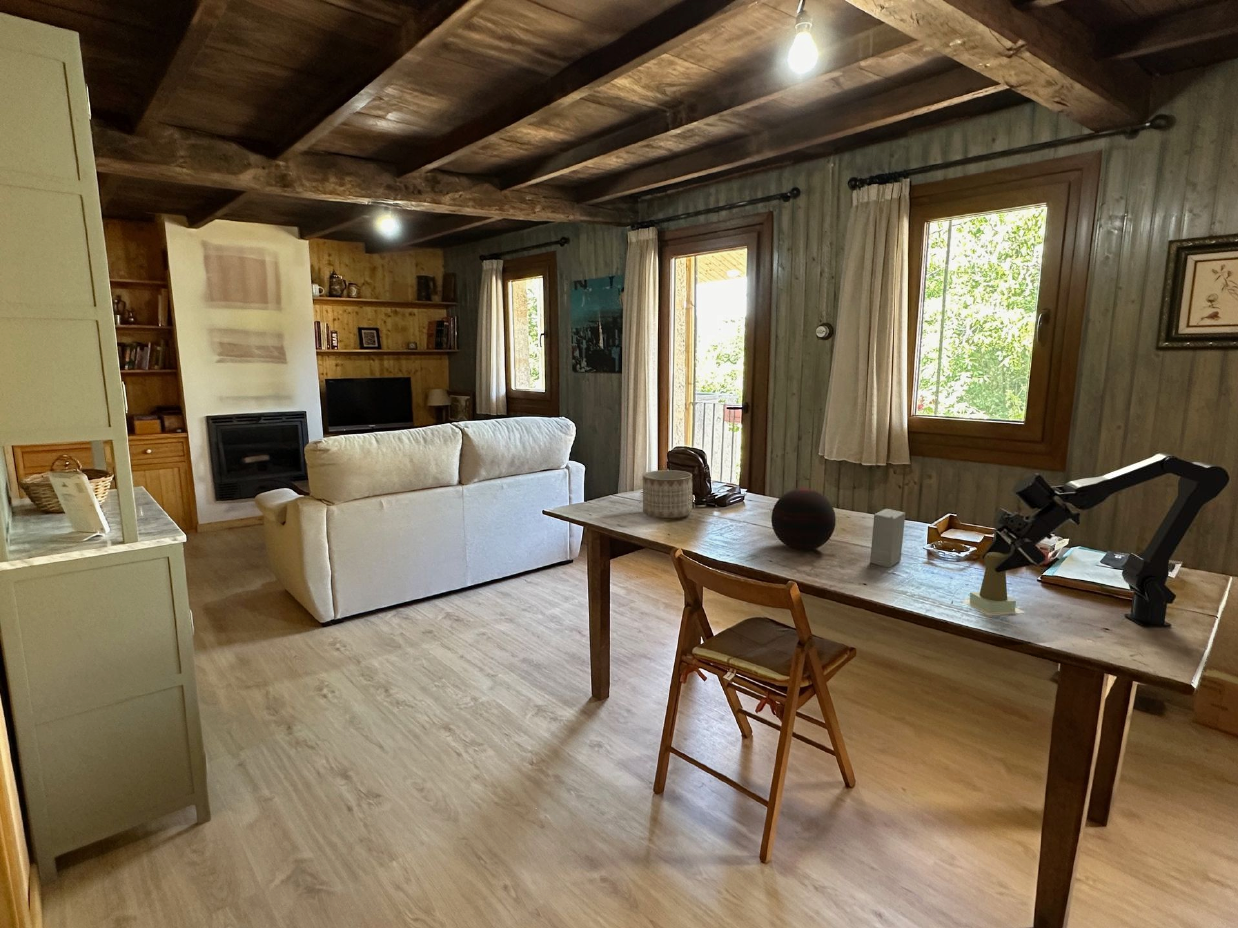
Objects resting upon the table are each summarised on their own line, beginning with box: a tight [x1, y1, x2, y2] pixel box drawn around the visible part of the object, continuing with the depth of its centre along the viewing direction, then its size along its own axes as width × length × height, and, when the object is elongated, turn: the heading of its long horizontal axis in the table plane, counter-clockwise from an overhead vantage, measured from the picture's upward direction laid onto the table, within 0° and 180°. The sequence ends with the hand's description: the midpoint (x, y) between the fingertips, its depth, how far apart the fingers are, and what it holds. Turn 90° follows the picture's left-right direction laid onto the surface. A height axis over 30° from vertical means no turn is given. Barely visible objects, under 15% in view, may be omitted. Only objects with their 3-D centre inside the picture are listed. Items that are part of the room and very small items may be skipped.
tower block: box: [969, 591, 1017, 613], centre depth 163 cm, size 7×7×2 cm
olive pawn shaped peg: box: [979, 552, 1008, 601], centre depth 162 cm, size 6×6×11 cm
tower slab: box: [960, 598, 1026, 616], centre depth 164 cm, size 10×10×2 cm
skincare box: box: [869, 508, 906, 568], centre depth 200 cm, size 8×7×16 cm
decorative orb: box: [770, 488, 837, 552], centre depth 214 cm, size 20×20×20 cm
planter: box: [642, 469, 693, 520], centre depth 261 cm, size 19×19×16 cm
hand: (989, 564), depth 162 cm, fingers open, 9 cm apart
